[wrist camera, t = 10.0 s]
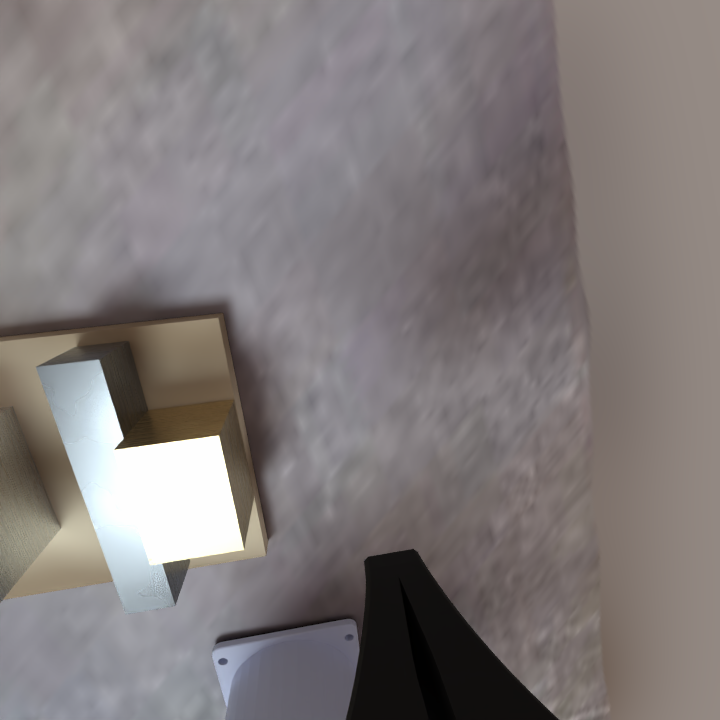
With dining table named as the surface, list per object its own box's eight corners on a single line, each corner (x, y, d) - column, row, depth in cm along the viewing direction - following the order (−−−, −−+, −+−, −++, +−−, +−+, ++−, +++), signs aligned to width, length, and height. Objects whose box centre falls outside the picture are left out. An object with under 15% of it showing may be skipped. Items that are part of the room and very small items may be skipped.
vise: (268, 541, 21) (261, 600, 17) (-93, 599, 19) (-176, 676, 16) (223, 312, 17) (203, 333, 14) (-233, 362, 15) (-380, 398, 12)
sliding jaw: (264, 549, 20) (257, 607, 17) (147, 568, 19) (117, 632, 16) (220, 330, 16) (200, 354, 13) (74, 347, 16) (19, 375, 13)
